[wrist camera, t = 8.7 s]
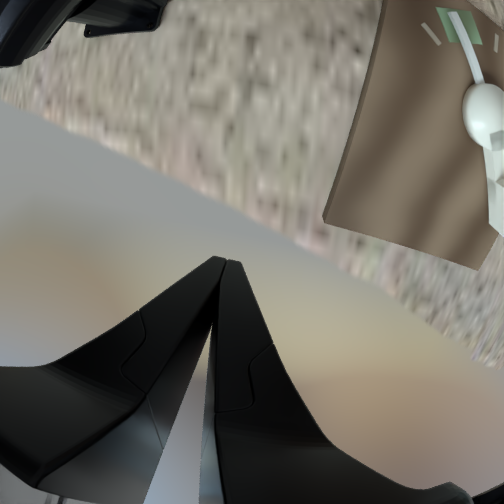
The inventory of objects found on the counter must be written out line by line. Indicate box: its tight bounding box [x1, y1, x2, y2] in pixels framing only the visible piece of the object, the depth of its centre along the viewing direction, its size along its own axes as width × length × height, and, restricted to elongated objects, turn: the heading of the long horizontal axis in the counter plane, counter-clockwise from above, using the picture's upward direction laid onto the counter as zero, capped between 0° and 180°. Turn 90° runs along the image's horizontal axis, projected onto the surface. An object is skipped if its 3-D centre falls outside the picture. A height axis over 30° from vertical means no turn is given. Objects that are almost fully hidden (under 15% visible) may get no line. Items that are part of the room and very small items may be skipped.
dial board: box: [322, 0, 504, 271], centre depth 14 cm, size 17×22×1 cm
